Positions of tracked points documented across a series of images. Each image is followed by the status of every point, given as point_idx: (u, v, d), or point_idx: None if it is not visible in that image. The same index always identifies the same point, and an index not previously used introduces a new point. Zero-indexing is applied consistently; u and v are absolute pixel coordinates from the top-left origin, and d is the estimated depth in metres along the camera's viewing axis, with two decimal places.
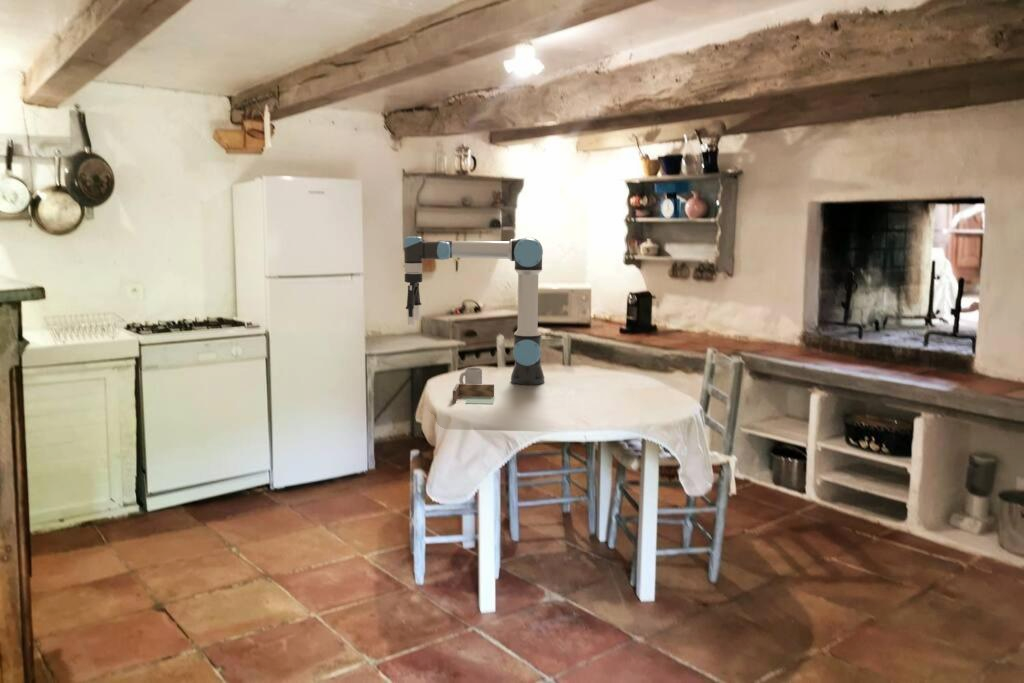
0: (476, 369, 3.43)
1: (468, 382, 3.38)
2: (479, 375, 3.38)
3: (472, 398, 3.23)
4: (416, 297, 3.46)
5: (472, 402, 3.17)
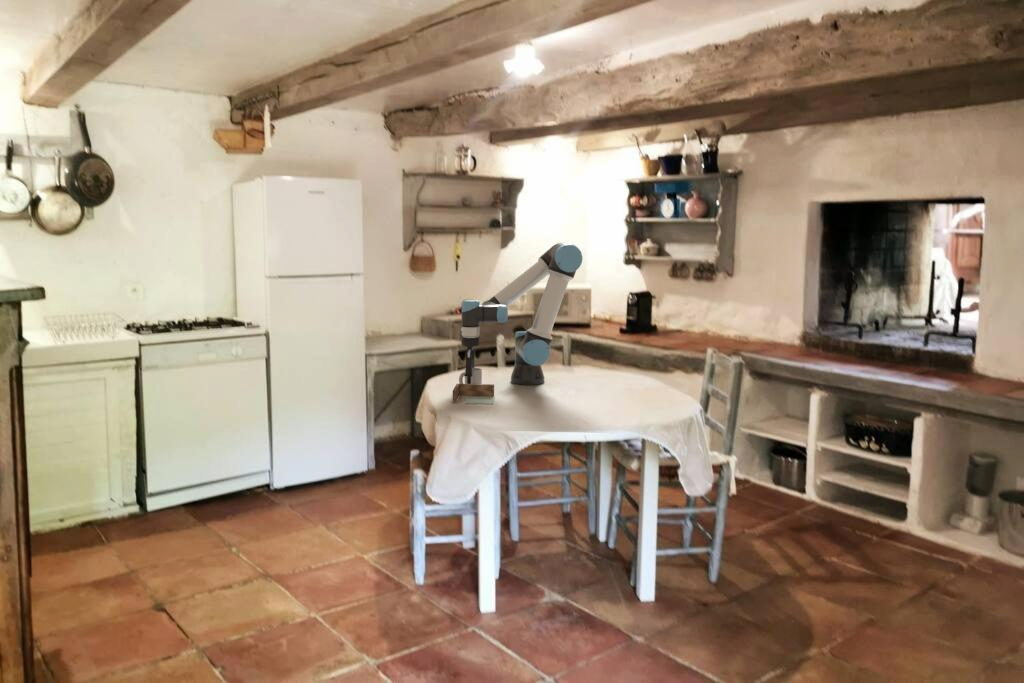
0: (476, 369, 3.42)
1: None
2: (479, 375, 3.37)
3: (472, 398, 3.23)
4: (472, 362, 3.41)
5: (472, 402, 3.17)
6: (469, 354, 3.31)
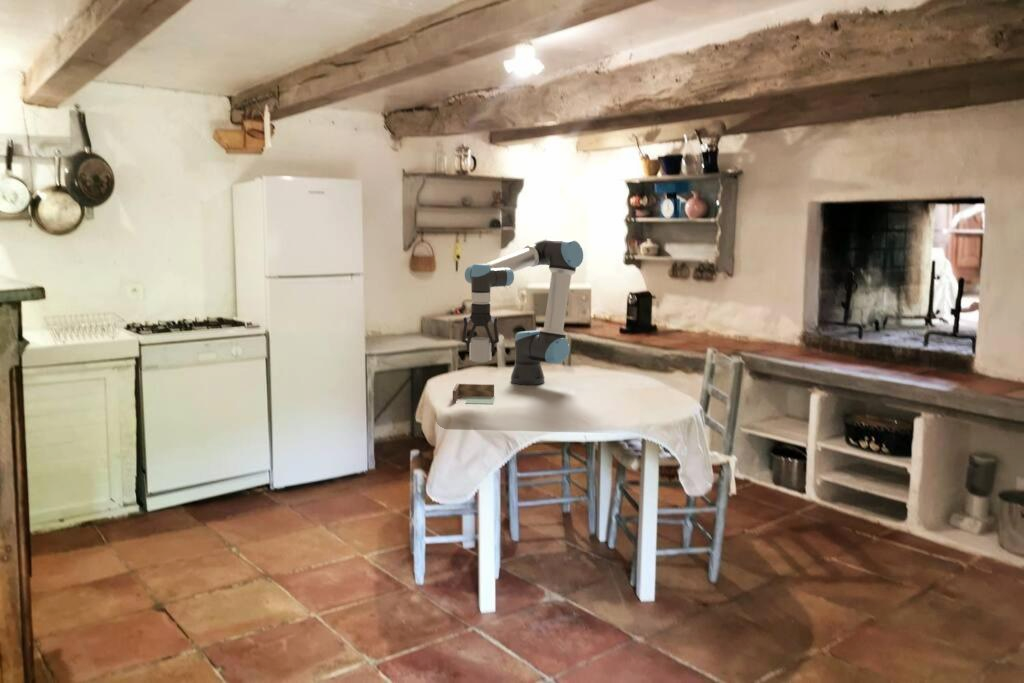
0: None
1: None
2: (474, 345, 3.14)
3: (472, 398, 3.23)
4: (487, 332, 3.16)
5: (472, 402, 3.17)
6: None
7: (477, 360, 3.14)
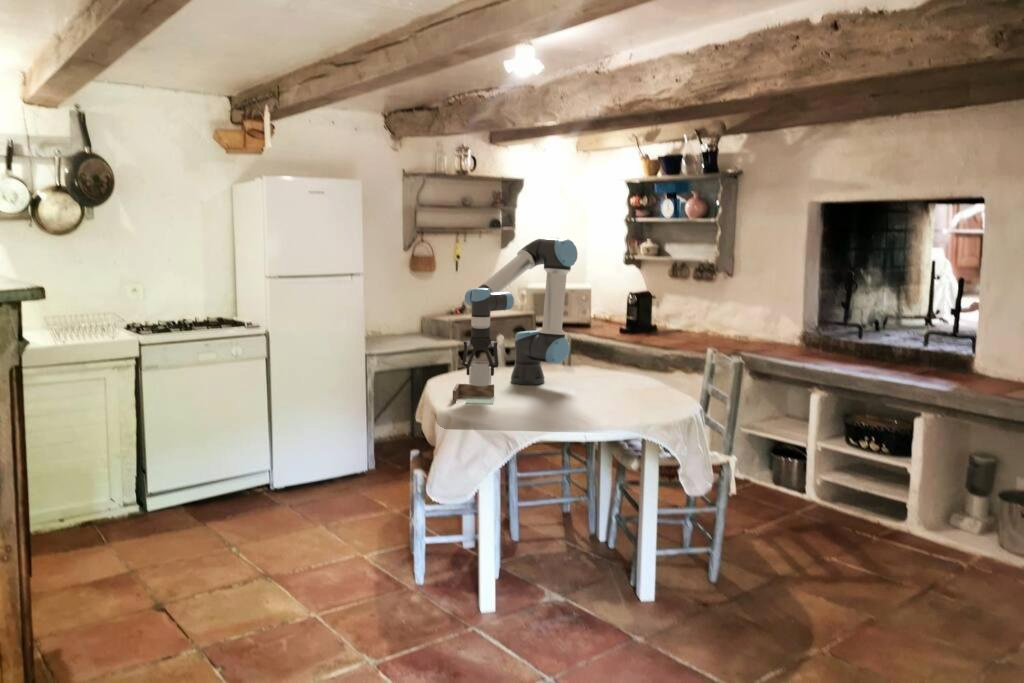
0: None
1: None
2: (473, 369, 3.15)
3: (472, 398, 3.23)
4: (487, 356, 3.18)
5: (472, 402, 3.17)
6: None
7: (477, 384, 3.15)
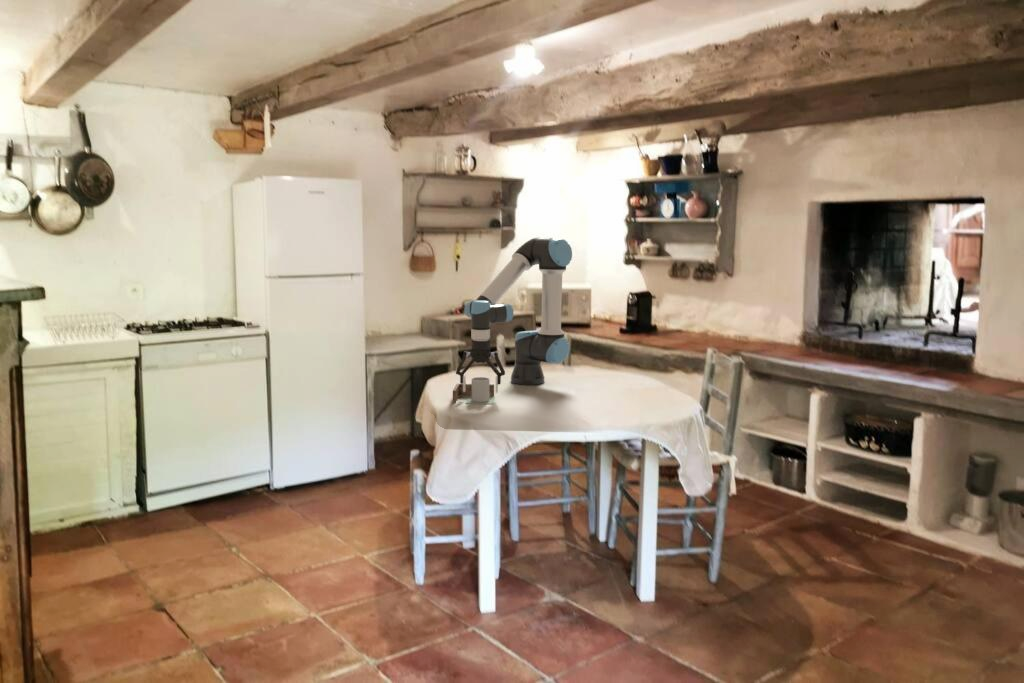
0: None
1: None
2: (474, 385, 3.16)
3: None
4: None
5: (472, 402, 3.17)
6: None
7: (477, 400, 3.16)
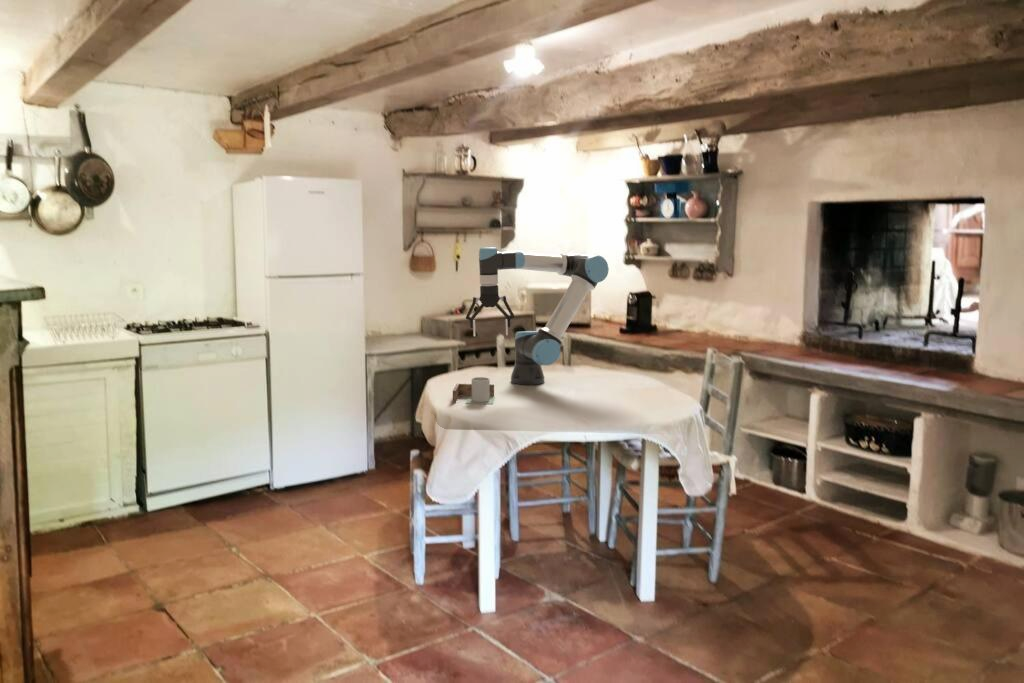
0: None
1: None
2: (474, 385, 3.16)
3: None
4: (500, 310, 3.30)
5: (472, 402, 3.17)
6: (473, 298, 3.29)
7: (477, 400, 3.16)
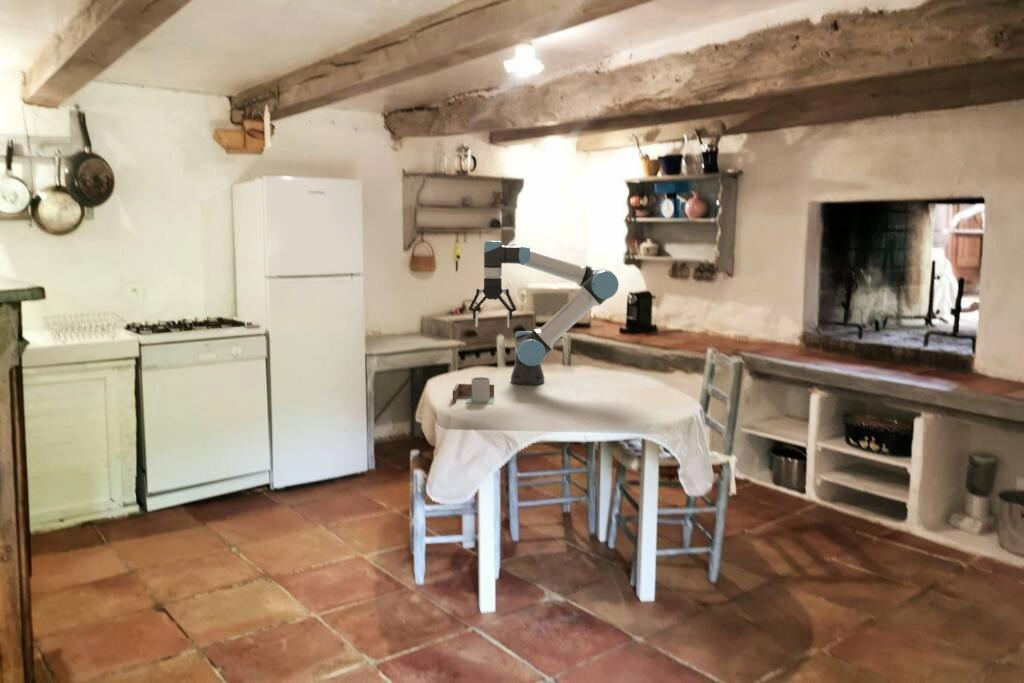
0: None
1: None
2: (474, 385, 3.16)
3: None
4: None
5: (472, 402, 3.17)
6: None
7: (477, 400, 3.16)
